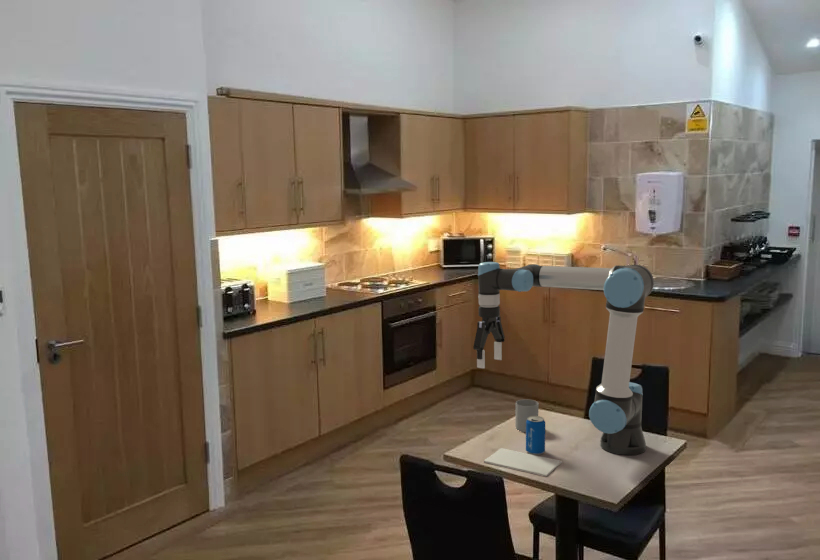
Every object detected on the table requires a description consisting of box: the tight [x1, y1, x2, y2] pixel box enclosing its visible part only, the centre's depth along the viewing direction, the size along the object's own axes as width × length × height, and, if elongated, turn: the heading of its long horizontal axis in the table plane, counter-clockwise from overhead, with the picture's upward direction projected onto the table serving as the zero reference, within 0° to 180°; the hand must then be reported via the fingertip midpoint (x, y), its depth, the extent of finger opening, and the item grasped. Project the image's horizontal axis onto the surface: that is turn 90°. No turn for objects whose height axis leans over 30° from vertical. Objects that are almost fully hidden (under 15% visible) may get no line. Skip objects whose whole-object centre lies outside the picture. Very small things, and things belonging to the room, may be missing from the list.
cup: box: [514, 398, 540, 433], centre depth 267 cm, size 8×8×10 cm
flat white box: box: [483, 447, 563, 477], centre depth 236 cm, size 22×13×1 cm, turn 57°
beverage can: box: [525, 415, 546, 456], centre depth 244 cm, size 6×6×12 cm
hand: (489, 363), depth 258 cm, fingers open, 13 cm apart
